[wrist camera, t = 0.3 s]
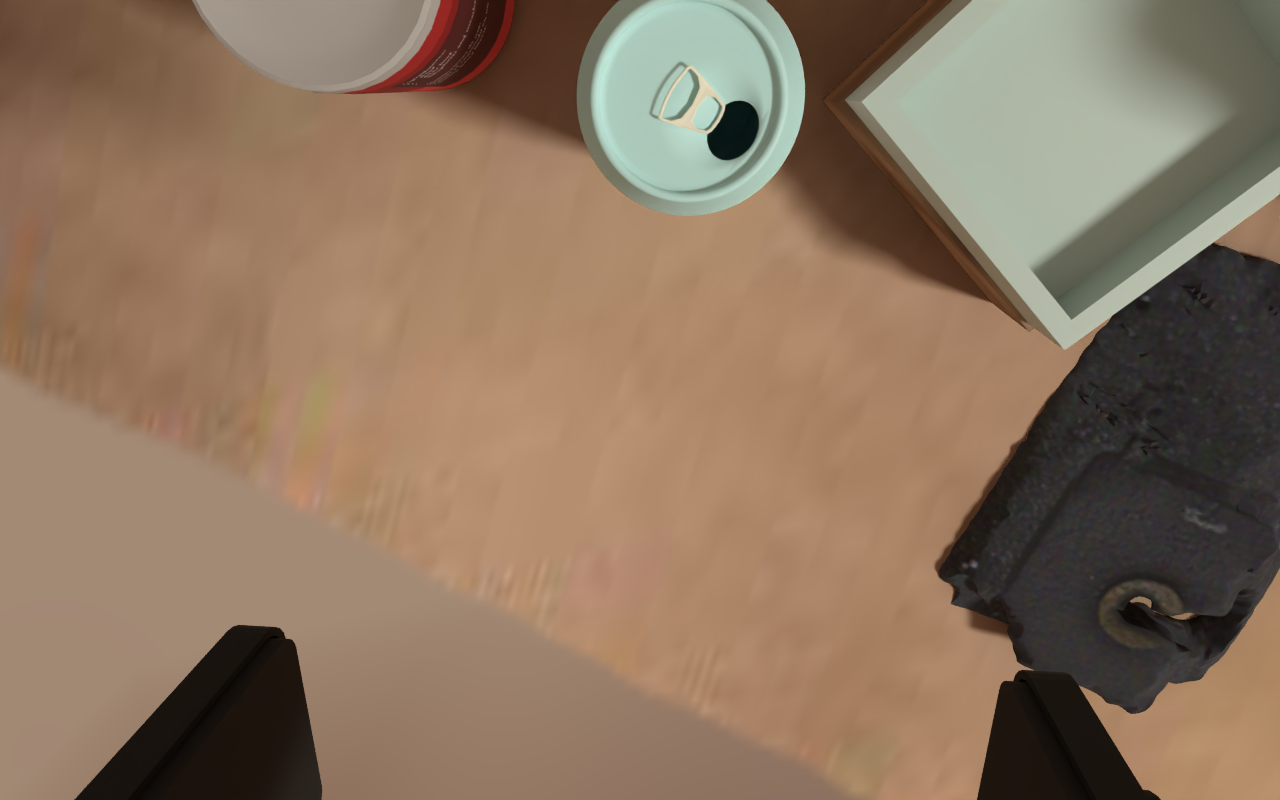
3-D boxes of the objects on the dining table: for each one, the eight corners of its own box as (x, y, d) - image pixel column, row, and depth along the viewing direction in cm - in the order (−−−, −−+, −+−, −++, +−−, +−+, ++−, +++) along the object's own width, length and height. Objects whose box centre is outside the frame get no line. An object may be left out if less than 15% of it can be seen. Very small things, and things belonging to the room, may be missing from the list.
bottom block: (821, 100, 34) (838, 103, 30) (1068, -133, 30) (1132, -172, 26) (988, 300, 37) (1029, 331, 32) (1235, 108, 33) (1321, 112, 28)
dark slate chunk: (1461, 339, 36) (1566, 375, 31) (1165, 692, 44) (1215, 760, 40) (1158, 210, 35) (1223, 228, 30) (912, 596, 43) (936, 654, 39)
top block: (844, 99, 29) (861, 101, 26) (1130, -164, 26) (1190, -200, 23) (1028, 323, 32) (1064, 350, 29) (1311, 111, 28) (1389, 114, 25)
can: (775, -6, 32) (809, -52, 21) (780, 172, 35) (814, 214, 24) (604, 14, 33) (552, -21, 22) (621, 187, 36) (582, 233, 25)
